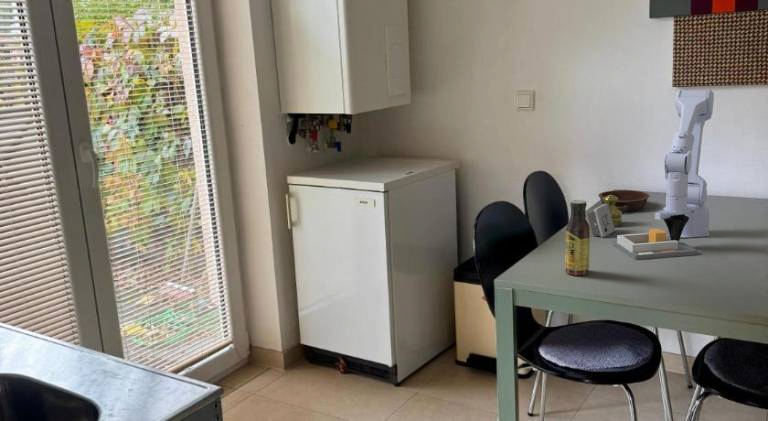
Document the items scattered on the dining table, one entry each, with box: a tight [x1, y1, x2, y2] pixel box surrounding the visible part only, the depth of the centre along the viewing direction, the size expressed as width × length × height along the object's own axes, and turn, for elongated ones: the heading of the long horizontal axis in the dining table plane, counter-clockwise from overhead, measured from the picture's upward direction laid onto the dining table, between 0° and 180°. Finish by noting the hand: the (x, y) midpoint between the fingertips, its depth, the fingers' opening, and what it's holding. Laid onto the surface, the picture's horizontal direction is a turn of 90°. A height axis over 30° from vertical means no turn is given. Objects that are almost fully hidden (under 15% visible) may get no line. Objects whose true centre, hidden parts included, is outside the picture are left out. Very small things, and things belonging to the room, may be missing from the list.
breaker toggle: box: [648, 228, 667, 243], centre depth 207 cm, size 3×4×4 cm, turn 5°
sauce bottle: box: [564, 199, 591, 276], centre depth 189 cm, size 6×6×20 cm
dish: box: [598, 189, 650, 213], centre depth 259 cm, size 18×22×5 cm
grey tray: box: [612, 232, 699, 261], centre depth 208 cm, size 18×16×4 cm
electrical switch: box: [586, 204, 615, 239], centre depth 226 cm, size 9×5×9 cm, turn 141°
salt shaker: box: [603, 195, 623, 228], centre depth 236 cm, size 7×8×10 cm
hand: (675, 240), depth 208 cm, fingers closed
